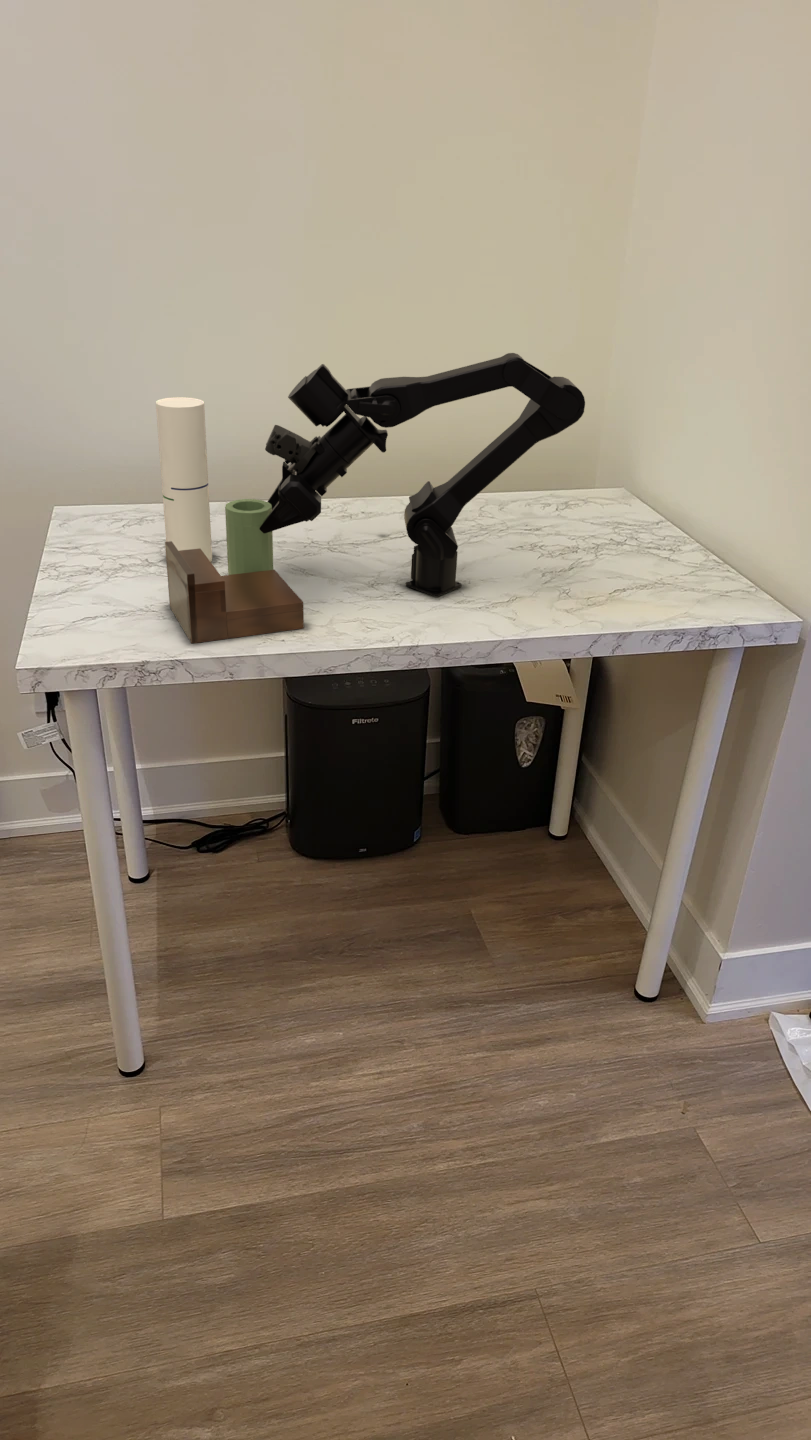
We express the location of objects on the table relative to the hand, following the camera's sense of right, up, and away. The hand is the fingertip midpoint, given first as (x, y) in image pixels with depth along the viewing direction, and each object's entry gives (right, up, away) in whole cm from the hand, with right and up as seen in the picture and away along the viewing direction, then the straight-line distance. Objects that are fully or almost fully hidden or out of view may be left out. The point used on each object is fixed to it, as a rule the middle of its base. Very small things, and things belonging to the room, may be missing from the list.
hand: (263, 521), depth 155 cm
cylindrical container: (-14, -4, +13) cm, 20 cm away
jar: (-3, -9, +5) cm, 10 cm away
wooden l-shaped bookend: (-3, -15, -7) cm, 17 cm away
